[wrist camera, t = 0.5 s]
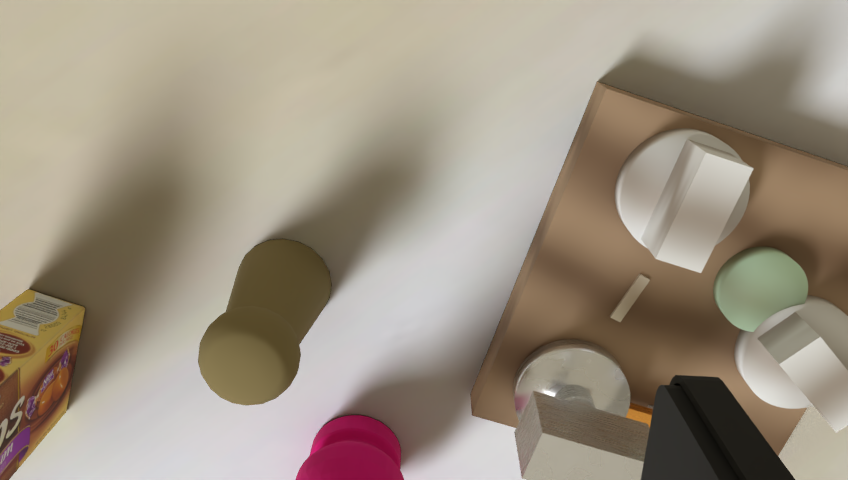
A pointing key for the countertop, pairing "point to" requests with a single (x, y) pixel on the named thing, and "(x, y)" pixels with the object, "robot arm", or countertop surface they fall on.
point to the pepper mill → (353, 452)
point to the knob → (577, 415)
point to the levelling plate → (675, 292)
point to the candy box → (34, 371)
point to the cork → (265, 322)
